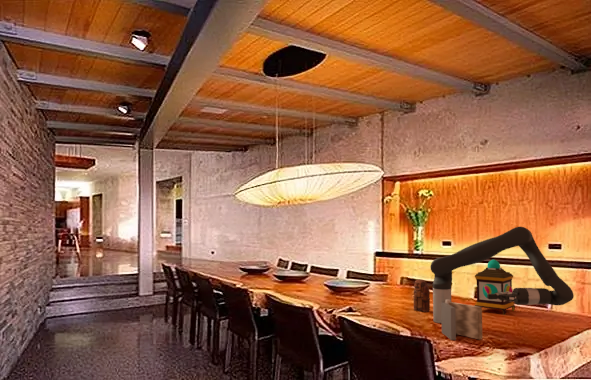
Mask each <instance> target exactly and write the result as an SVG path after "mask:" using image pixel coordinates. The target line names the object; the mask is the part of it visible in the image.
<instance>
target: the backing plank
mask: <svg viewBox="0 0 591 380" xmlns="http://www.w3.org/2000/svg"><path fill="white" fill-rule="evenodd" d="M449 302H452V299H451V300H446V303H441V322H442V323H441V333H442V335H444V336H446V337H447V338H448V339H449V340H450V341H457V334H456V319H455V308H454V307H452V306H451V305H449Z"/></svg>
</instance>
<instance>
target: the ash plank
mask: <svg viewBox="0 0 591 380" xmlns="http://www.w3.org/2000/svg"><path fill="white" fill-rule="evenodd" d="M449 305H451V306H452V307H454V308H455V319H456V335H459V336H463V337H467V338H471V339H475V340H483V338H484V337H483V307H478V306H475V305H472V304H465V303H460V302H455V301H454V302H453V301H451V302H449Z"/></svg>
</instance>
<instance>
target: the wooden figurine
mask: <svg viewBox="0 0 591 380" xmlns="http://www.w3.org/2000/svg"><path fill="white" fill-rule="evenodd" d="M413 286H414V287H413V288H414V289H413V310H414V311H417V312H423V313H429V312H430V310H431V309H430V308H431V307H430V306H431V303H430V302H431V300H430V299H431V297H430V295H431V293H430V287H429V285H428V283H427V281H425V280H424V279H417V280H415V281H414V285H413Z"/></svg>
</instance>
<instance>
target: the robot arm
mask: <svg viewBox="0 0 591 380" xmlns="http://www.w3.org/2000/svg"><path fill="white" fill-rule="evenodd" d="M515 247H519V248H520V249H521V251H523V252H524V254H525V255H526V256H527V258H528V260H529V261H530V263H531V265H532V267H533V269H534V270H535V272H536V274H537V276H538V277H539V278H540V280H541V281H542V283H543V284H544V285H545V286H546V287H551V288H552V290H549V289H547V288H545V287H544V288H543V287H514V288H512V289H513V292H509V291H507V292H497V293H495V294H487V298H488V299H497V300H501V301H502V300H503V301H513V303H514V305H517V306H522V305H523V306H529V305H530V306H531V305H532V306H533V305H545V304H546V305H552V306H563V305H566V304H567V303H569V302H571V301H572V300H573V299H574V292H573V290H572V288H571V287H570V286H569V285H568V284H567V283H566V282H565V280H563V279H562V278H561V277H560V276H559V275H558V273H557V272H556V271H555V270H554V267H552V265H551V264H550V262H549V261H548V260H547V259H546V257H545V255H543V253H542V251H541V249H540V248H539V247H538V245H537V243H536V241H535V238H534V237H533V233H532V232H531V230H529V229H528V228H526V227H525V226H516V227H514V228H511V229H510V230H508V231H506V232H504V233H502V234H500V235H498V236H494V237H491V238H488V239H484V240H481V241H479V242H476V243H474V244H470V245H469V246H466V247H464V248H463V249H461V250H459V251H457V252H455V253H453V254H450V255H446V256H443V257H438V258H435V259H433V261H432V262H431V264H430V270H431V273H432V274H434V277H433V278H434V279H433V282H432V306H433V307H432V314H433V315H432V317H433V318H432V319H433V320H432V321H433V322H434V323H437V324H438V323H439V324H442V322H441V303H446V300H451V301H452V282H453V271H454V270H456V269H459V268H463V267H467V266H470V265H471V266H472V265H474V264H475V265H476V264H478V263H481V262H484V261H487V260H489V259H491V258H494V257H495V256H497V255H498V254H499V253H502V252H503V251H506V250H509V249H513V248H515Z"/></svg>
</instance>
